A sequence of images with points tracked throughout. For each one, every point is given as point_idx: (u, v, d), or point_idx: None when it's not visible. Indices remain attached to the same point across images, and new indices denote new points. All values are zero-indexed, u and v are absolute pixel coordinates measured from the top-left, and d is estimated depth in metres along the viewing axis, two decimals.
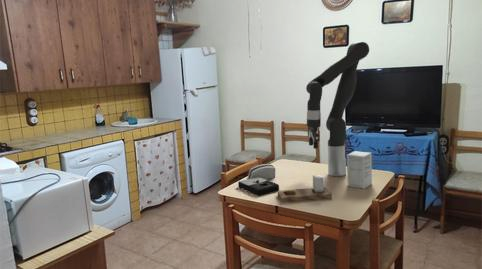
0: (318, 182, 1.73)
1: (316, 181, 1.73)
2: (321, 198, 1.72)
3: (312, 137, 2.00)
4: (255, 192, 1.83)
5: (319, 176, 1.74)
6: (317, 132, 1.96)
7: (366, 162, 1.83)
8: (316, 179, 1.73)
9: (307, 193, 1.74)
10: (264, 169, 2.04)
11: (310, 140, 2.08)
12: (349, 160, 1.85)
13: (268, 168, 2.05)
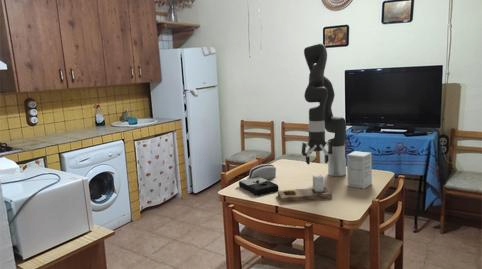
0: (318, 182, 1.73)
1: (316, 181, 1.73)
2: (321, 198, 1.72)
3: (325, 151, 1.71)
4: (254, 192, 1.83)
5: (319, 176, 1.74)
6: None
7: (366, 162, 1.83)
8: (316, 179, 1.73)
9: (307, 193, 1.74)
10: (265, 169, 2.04)
11: None
12: (349, 160, 1.85)
13: (269, 168, 2.05)
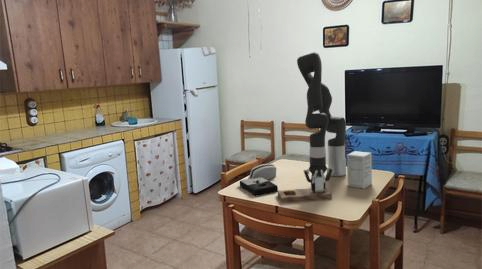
0: (318, 182, 1.73)
1: (316, 181, 1.73)
2: (321, 198, 1.72)
3: (323, 177, 1.73)
4: (252, 192, 1.83)
5: (319, 176, 1.74)
6: None
7: (366, 162, 1.83)
8: (316, 179, 1.73)
9: (307, 193, 1.74)
10: (265, 169, 2.04)
11: None
12: (349, 160, 1.85)
13: (269, 168, 2.05)
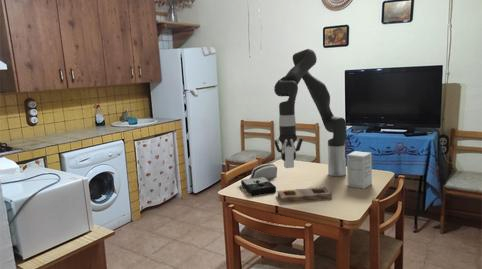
0: (288, 151, 1.69)
1: (286, 151, 1.69)
2: (321, 198, 1.72)
3: (293, 147, 1.70)
4: (250, 192, 1.83)
5: (289, 146, 1.71)
6: None
7: (366, 162, 1.83)
8: (286, 149, 1.69)
9: (307, 193, 1.74)
10: (267, 169, 2.04)
11: (284, 154, 1.71)
12: (349, 160, 1.85)
13: (271, 167, 2.06)
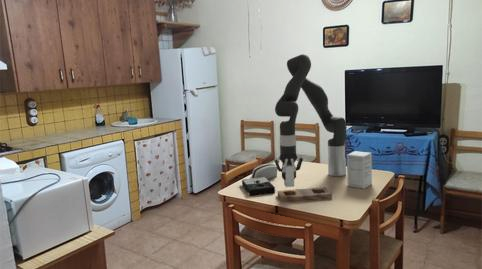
0: (288, 171, 1.71)
1: (286, 170, 1.71)
2: (321, 198, 1.72)
3: (294, 166, 1.71)
4: (249, 192, 1.84)
5: (290, 165, 1.72)
6: None
7: (366, 162, 1.83)
8: (286, 168, 1.71)
9: (307, 193, 1.74)
10: (267, 168, 2.04)
11: None
12: (349, 160, 1.85)
13: (271, 167, 2.06)
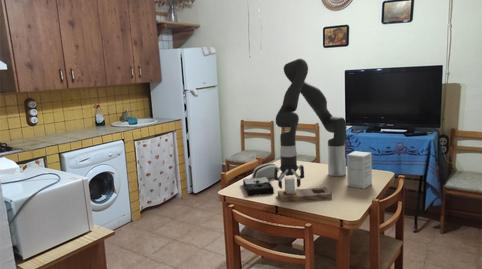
0: (289, 184, 1.72)
1: (287, 184, 1.72)
2: (321, 198, 1.72)
3: (297, 175, 1.72)
4: (247, 192, 1.84)
5: (290, 178, 1.73)
6: None
7: (366, 162, 1.83)
8: (287, 181, 1.72)
9: (307, 193, 1.74)
10: (268, 168, 2.05)
11: (281, 182, 1.73)
12: (349, 160, 1.85)
13: (272, 167, 2.06)
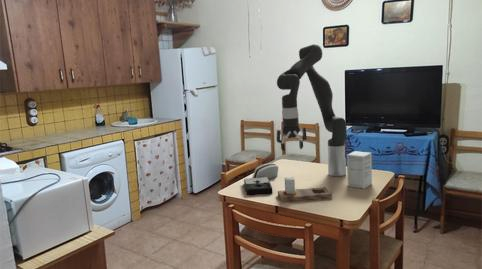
0: (289, 184, 1.72)
1: (287, 184, 1.72)
2: (321, 198, 1.72)
3: (299, 137, 1.74)
4: (246, 192, 1.85)
5: (290, 178, 1.73)
6: None
7: (366, 162, 1.83)
8: (287, 181, 1.72)
9: (307, 193, 1.74)
10: (269, 168, 2.05)
11: None
12: (349, 160, 1.85)
13: (272, 167, 2.06)
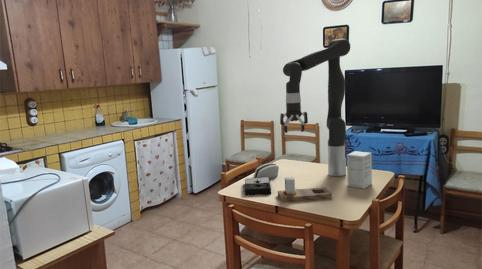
0: (289, 184, 1.72)
1: (287, 184, 1.72)
2: (321, 198, 1.72)
3: (301, 120, 1.90)
4: None
5: (290, 178, 1.73)
6: None
7: (366, 162, 1.83)
8: (287, 181, 1.72)
9: (307, 193, 1.74)
10: (269, 168, 2.05)
11: None
12: (349, 160, 1.85)
13: (273, 167, 2.07)
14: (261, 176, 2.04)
